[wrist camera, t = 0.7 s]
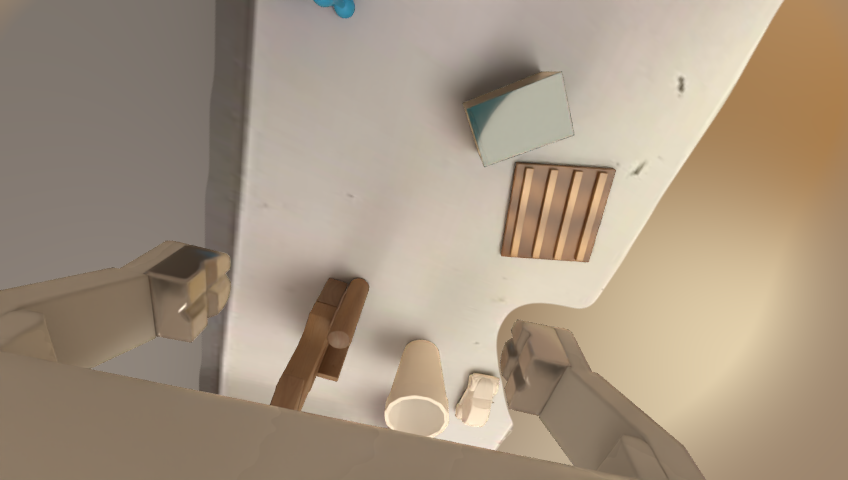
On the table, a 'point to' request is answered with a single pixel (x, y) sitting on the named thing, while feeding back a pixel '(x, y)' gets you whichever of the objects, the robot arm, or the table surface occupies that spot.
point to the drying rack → (555, 211)
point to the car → (477, 399)
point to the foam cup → (418, 392)
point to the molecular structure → (339, 6)
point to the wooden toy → (322, 341)
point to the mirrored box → (520, 117)
